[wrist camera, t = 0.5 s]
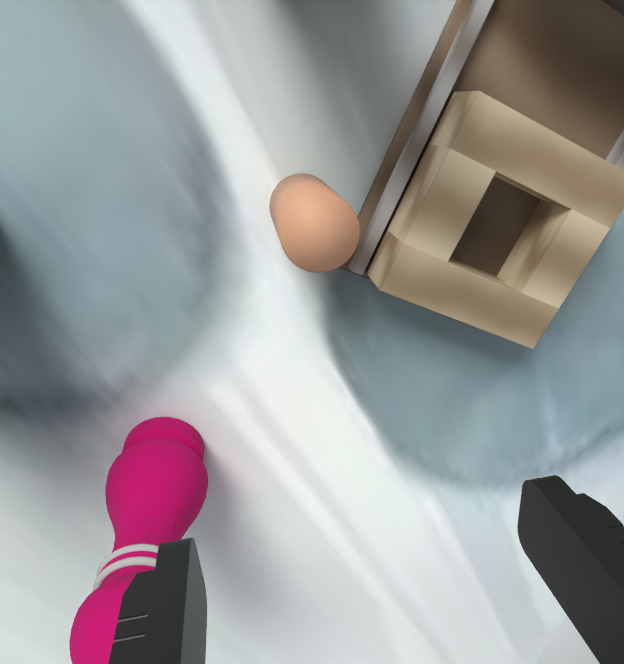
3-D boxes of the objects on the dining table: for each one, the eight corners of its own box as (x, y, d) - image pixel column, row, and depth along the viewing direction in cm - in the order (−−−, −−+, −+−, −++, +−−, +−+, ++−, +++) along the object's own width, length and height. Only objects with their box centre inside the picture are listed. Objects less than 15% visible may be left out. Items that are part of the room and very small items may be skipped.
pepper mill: (201, 487, 43) (182, 759, 25) (113, 478, 42) (26, 763, 24) (217, 417, 41) (208, 666, 23) (124, 404, 39) (35, 663, 21)
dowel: (284, 162, 33) (299, 179, 26) (343, 188, 35) (372, 211, 28) (260, 224, 35) (268, 256, 28) (317, 247, 36) (339, 283, 29)
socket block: (449, 91, 32) (479, 90, 28) (596, 171, 36) (640, 180, 32) (363, 270, 36) (379, 290, 32) (503, 325, 40) (533, 349, 36)
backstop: (504, -105, 29) (610, -184, 21) (694, 28, 34) (840, 6, 26) (336, 263, 37) (366, 309, 29) (509, 330, 42) (577, 386, 33)
